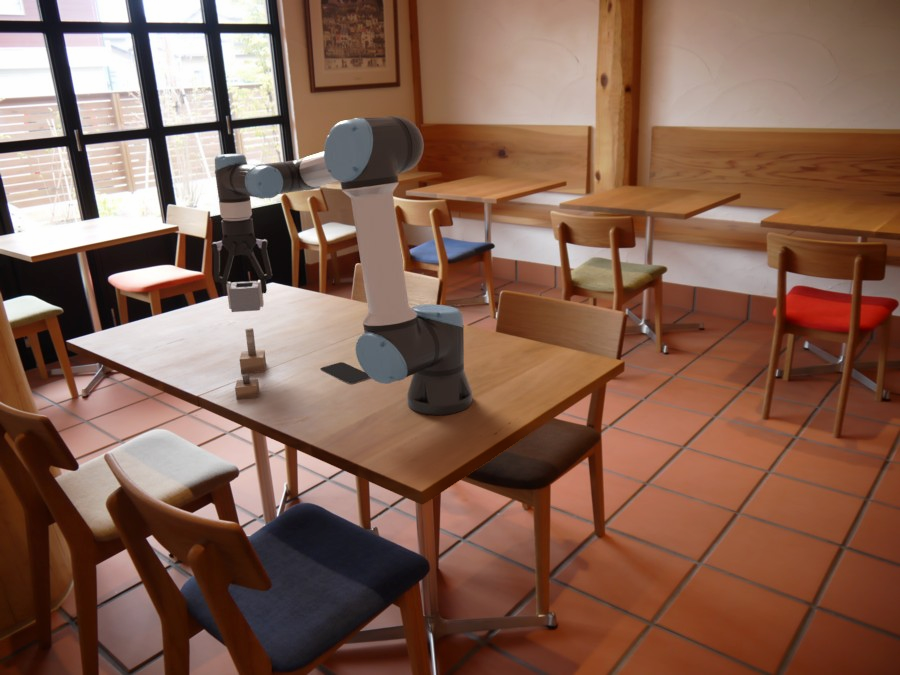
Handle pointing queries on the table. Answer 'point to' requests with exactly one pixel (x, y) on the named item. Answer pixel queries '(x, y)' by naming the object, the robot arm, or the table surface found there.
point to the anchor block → (247, 388)
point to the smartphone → (345, 373)
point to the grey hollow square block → (244, 296)
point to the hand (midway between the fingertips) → (246, 306)
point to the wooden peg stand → (252, 356)
